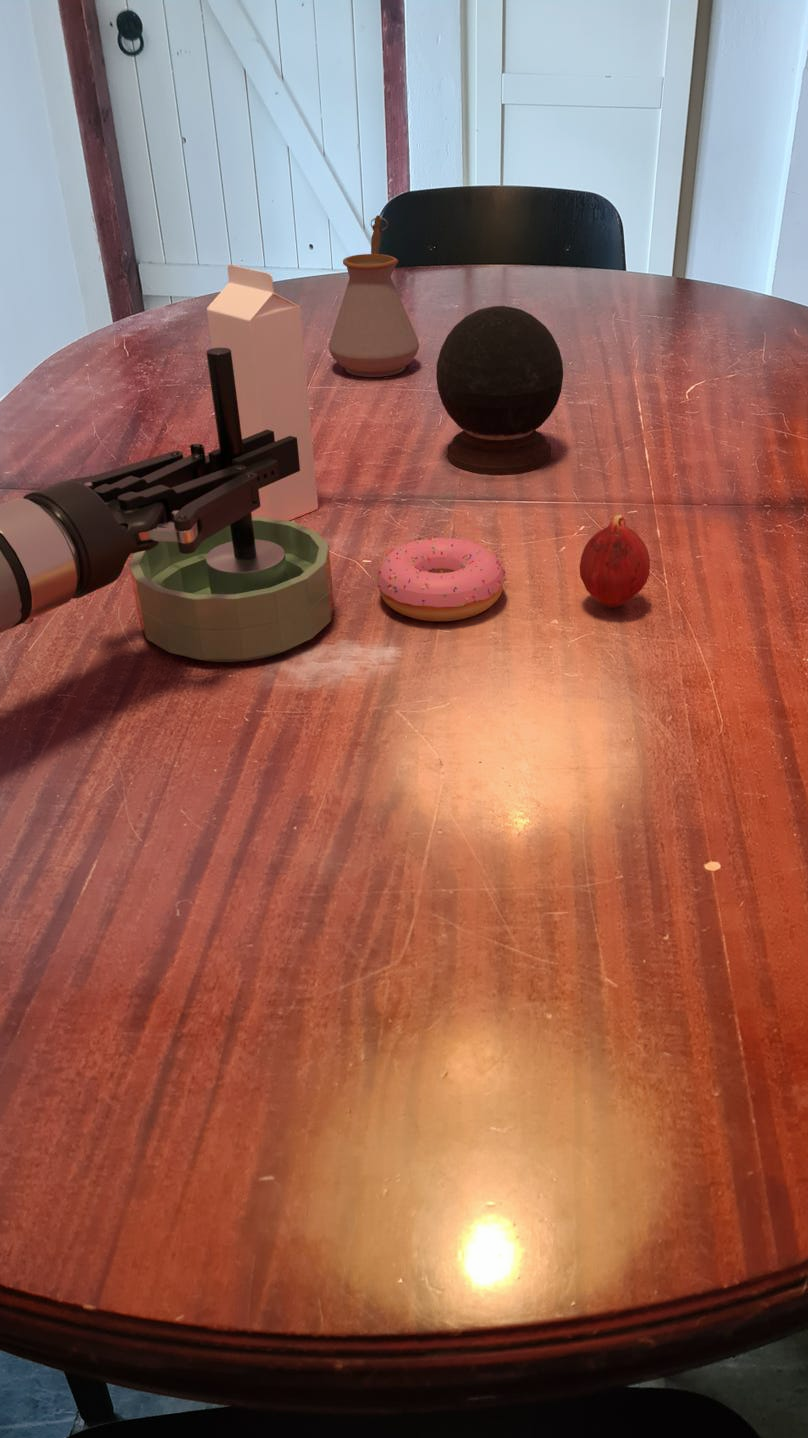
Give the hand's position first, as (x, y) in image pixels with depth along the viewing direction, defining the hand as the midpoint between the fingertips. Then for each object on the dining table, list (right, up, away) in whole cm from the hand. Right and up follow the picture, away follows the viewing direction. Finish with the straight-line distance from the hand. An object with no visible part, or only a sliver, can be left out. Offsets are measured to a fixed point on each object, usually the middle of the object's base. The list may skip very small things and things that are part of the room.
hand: (283, 450), depth 100 cm
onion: (+27, -12, +5) cm, 30 cm away
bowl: (-4, -13, +3) cm, 14 cm away
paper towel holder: (-3, -11, +3) cm, 11 cm away
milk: (-4, +1, +22) cm, 22 cm away
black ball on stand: (+18, +10, +33) cm, 39 cm away
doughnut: (+13, -11, +6) cm, 18 cm away
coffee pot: (+3, +32, +62) cm, 70 cm away
